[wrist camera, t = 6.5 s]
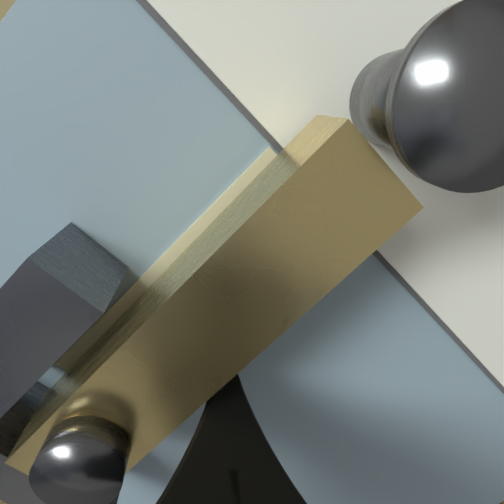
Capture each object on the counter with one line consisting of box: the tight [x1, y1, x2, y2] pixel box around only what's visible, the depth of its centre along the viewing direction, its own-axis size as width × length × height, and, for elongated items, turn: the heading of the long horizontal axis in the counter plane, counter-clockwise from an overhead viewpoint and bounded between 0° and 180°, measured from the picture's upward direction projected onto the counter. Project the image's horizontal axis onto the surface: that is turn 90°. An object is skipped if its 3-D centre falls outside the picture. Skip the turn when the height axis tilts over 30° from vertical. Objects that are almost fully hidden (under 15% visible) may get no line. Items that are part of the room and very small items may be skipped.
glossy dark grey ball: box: [349, 0, 504, 193], centre depth 8 cm, size 3×3×4 cm
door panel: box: [0, 0, 504, 504], centre depth 12 cm, size 19×22×1 cm
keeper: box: [0, 222, 129, 504], centre depth 10 cm, size 6×6×2 cm
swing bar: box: [5, 115, 424, 504], centre depth 8 cm, size 10×2×3 cm, turn 135°
